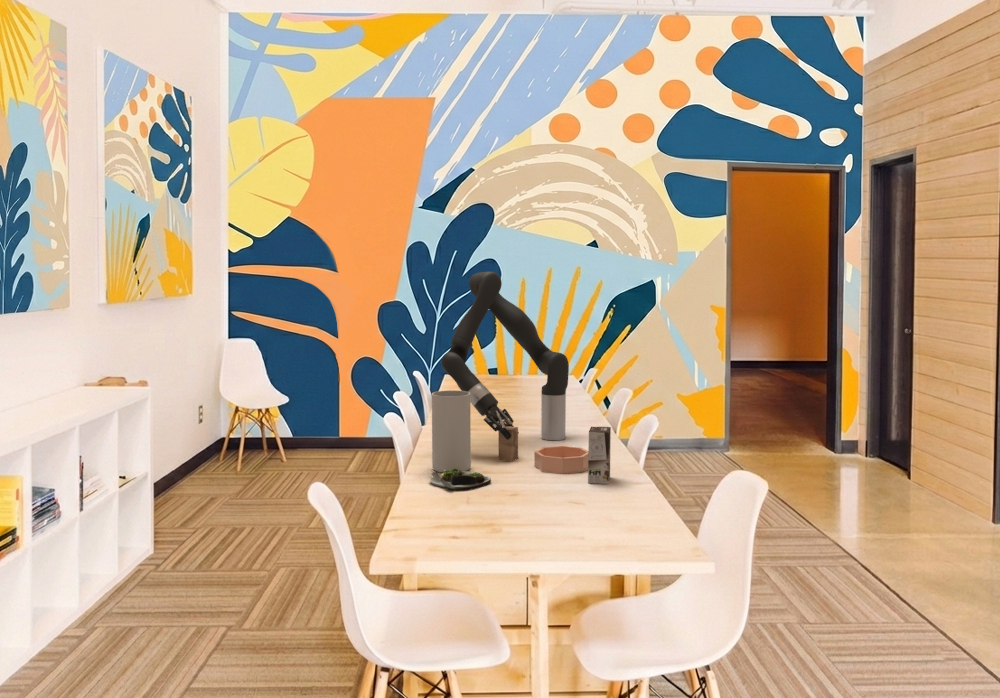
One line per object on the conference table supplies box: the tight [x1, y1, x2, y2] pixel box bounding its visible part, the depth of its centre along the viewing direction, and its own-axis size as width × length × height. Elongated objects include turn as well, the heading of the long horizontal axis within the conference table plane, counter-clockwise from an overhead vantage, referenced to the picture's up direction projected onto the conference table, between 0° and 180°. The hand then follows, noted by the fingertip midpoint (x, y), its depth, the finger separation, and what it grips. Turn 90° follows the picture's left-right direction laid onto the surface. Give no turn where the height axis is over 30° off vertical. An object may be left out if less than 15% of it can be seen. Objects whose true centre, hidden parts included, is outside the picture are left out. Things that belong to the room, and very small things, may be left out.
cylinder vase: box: [431, 389, 472, 474], centre depth 269 cm, size 12×12×25 cm
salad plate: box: [429, 468, 492, 492], centre depth 254 cm, size 19×18×5 cm
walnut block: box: [498, 426, 519, 462], centre depth 283 cm, size 5×5×11 cm
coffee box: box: [587, 426, 612, 485], centre depth 256 cm, size 9×6×16 cm
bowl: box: [533, 445, 589, 475], centre depth 273 cm, size 17×17×5 cm
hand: (513, 436), depth 282 cm, fingers closed on walnut block, 5 cm apart
